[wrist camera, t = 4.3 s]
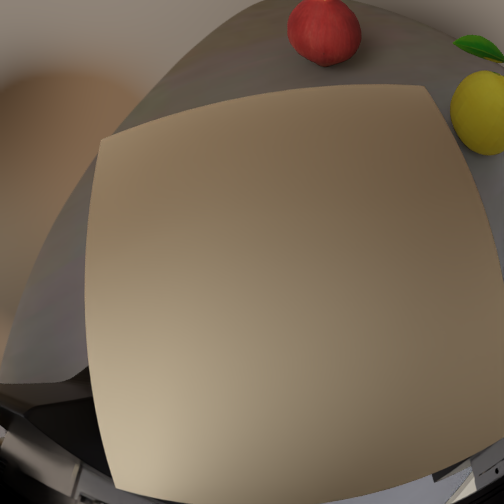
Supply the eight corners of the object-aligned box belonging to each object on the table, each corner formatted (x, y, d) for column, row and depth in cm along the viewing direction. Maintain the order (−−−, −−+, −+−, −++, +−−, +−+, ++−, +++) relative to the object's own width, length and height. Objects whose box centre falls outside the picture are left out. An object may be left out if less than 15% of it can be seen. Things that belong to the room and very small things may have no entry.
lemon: (428, 101, 17) (463, 9, 8) (483, 123, 16) (529, 47, 7) (437, 165, 16) (500, 64, 6) (497, 187, 15) (569, 113, 5)
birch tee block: (420, 346, 13) (616, 351, 1) (182, 380, 15) (-19, 438, 3) (403, 246, 15) (546, 97, 3) (172, 281, 17) (-20, 191, 4)
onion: (303, 42, 21) (298, -27, 13) (362, 57, 20) (370, -14, 12) (280, 74, 20) (269, -6, 12) (347, 92, 19) (356, 8, 11)
